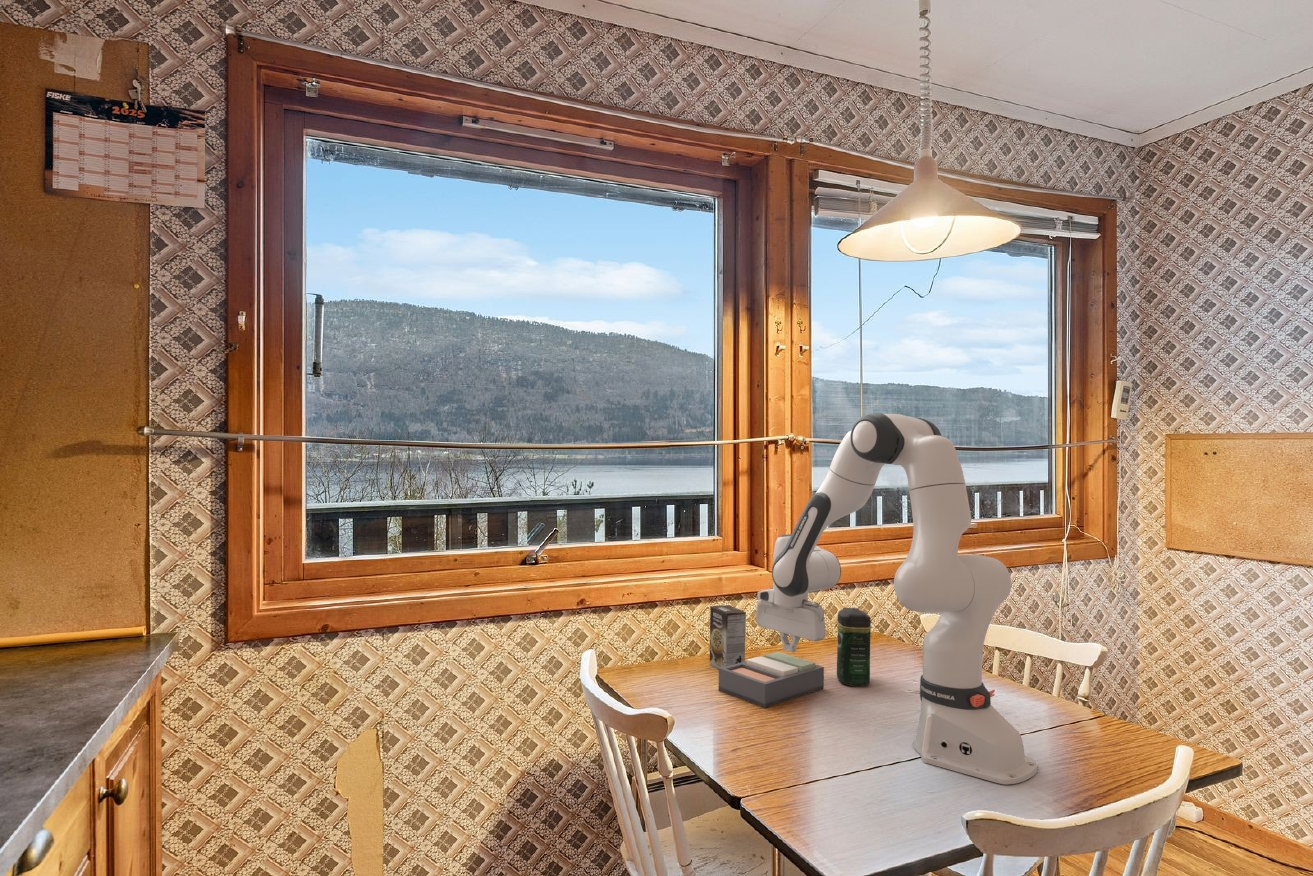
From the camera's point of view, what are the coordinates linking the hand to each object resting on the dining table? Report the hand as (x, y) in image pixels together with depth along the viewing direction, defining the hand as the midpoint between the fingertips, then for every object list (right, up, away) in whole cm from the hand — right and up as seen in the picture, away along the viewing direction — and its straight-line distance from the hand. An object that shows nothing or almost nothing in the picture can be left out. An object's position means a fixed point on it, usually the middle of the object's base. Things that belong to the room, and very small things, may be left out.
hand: (789, 651), depth 186 cm
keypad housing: (-5, -8, -4) cm, 11 cm away
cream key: (-5, -5, -4) cm, 8 cm away
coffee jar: (+17, -9, +3) cm, 19 cm away
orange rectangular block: (-11, -6, -9) cm, 15 cm away
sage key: (0, -5, 0) cm, 5 cm away
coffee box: (-15, -9, +13) cm, 21 cm away
